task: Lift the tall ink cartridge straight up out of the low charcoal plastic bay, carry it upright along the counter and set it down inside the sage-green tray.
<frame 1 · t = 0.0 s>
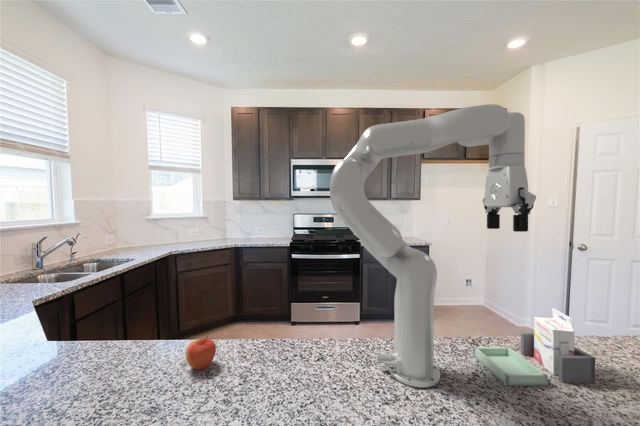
hand: (505, 229, 68), 37 cm above the countertop, tool pointing down, fingers open, 9 cm apart
tray: (506, 369, 69), on the countertop
apple: (201, 367, 70), on the countertop
ink cartridge box: (552, 367, 70), on the countertop
bay: (552, 366, 70), on the countertop
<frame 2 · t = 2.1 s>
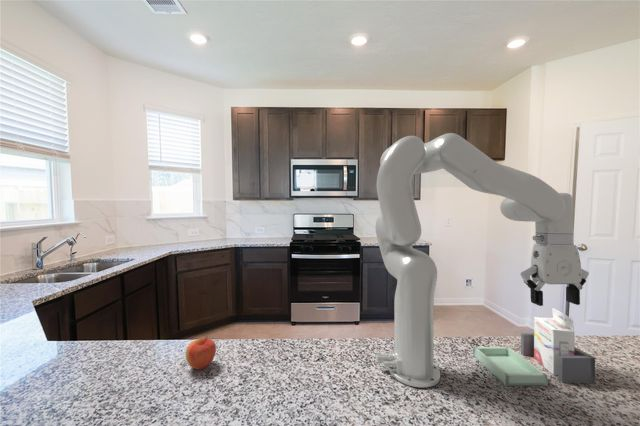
hand: (554, 303, 70), 17 cm above the countertop, tool pointing down, fingers open, 9 cm apart
nothing on the countertop moved.
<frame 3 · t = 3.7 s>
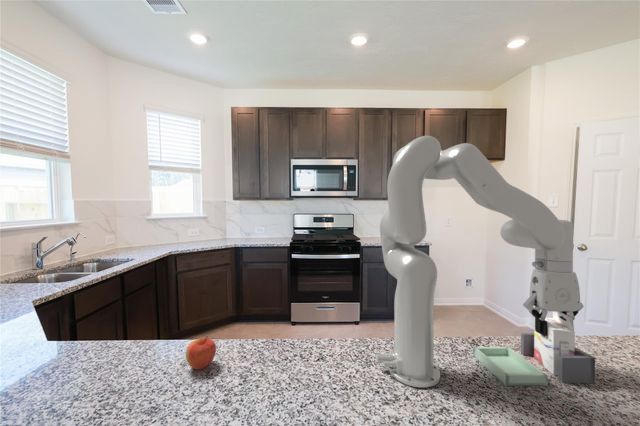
hand: (552, 332, 70), 9 cm above the countertop, tool pointing down, fingers closed on ink cartridge box, 5 cm apart
ink cartridge box: (552, 367, 70), on the countertop, touching gripper
everything else where it was.
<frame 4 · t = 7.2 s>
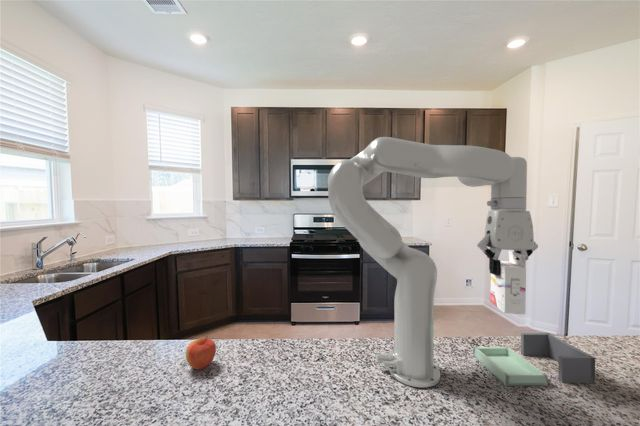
hand: (507, 273, 69), 25 cm above the countertop, tool pointing down, fingers closed on ink cartridge box, 5 cm apart
ink cartridge box: (506, 308, 69), point 16 cm above the countertop, touching gripper
everything else where it was.
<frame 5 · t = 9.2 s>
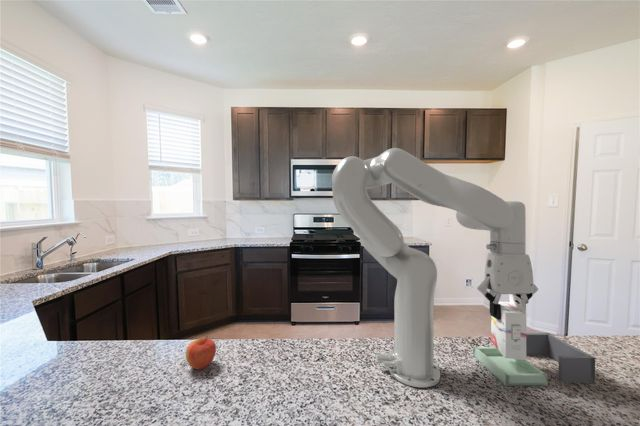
hand: (507, 316, 69), 14 cm above the countertop, tool pointing down, fingers closed on ink cartridge box, 5 cm apart
ink cartridge box: (507, 351, 69), point 5 cm above the countertop, touching gripper
everything else where it was.
when the fingers open (11 cm above the countertop, at t = 10.7 s): ink cartridge box drops 1 cm, resting on tray.
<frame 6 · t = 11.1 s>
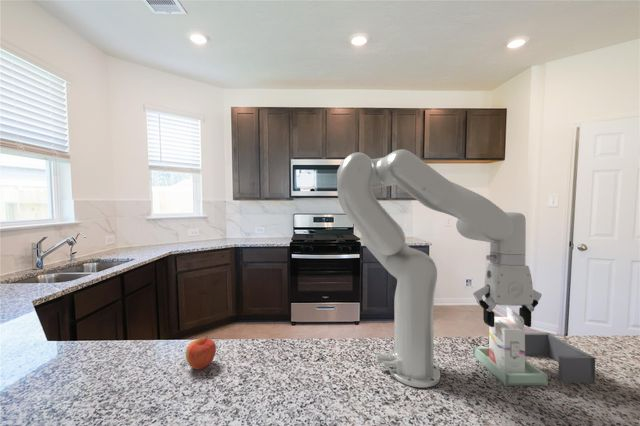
hand: (507, 324, 69), 12 cm above the countertop, tool pointing down, fingers open, 9 cm apart
ink cartridge box: (505, 367, 69), resting on tray
everything else where it was.
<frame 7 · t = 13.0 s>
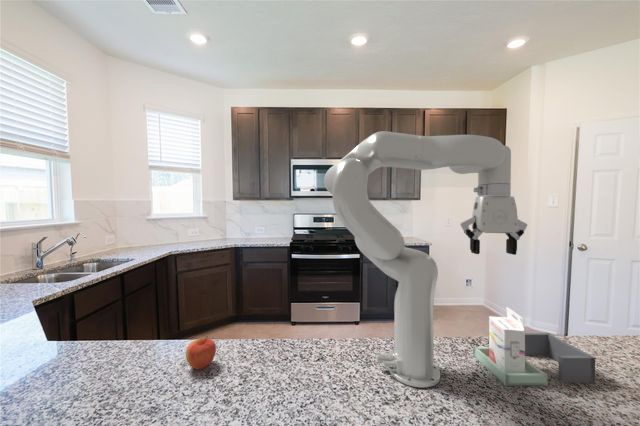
hand: (493, 253, 73), 30 cm above the countertop, tool pointing down, fingers open, 9 cm apart
nothing on the countertop moved.
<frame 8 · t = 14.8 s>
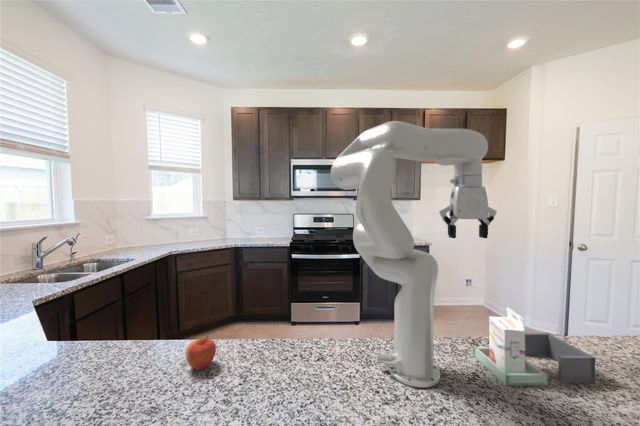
hand: (467, 237, 82), 33 cm above the countertop, tool pointing down, fingers open, 9 cm apart
nothing on the countertop moved.
at the end: ink cartridge box inside the target area on the tray (0.3 cm from its centre), point 0.4 cm above the tray's base; ink cartridge box tilted 0°; the gripper is holding nothing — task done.
